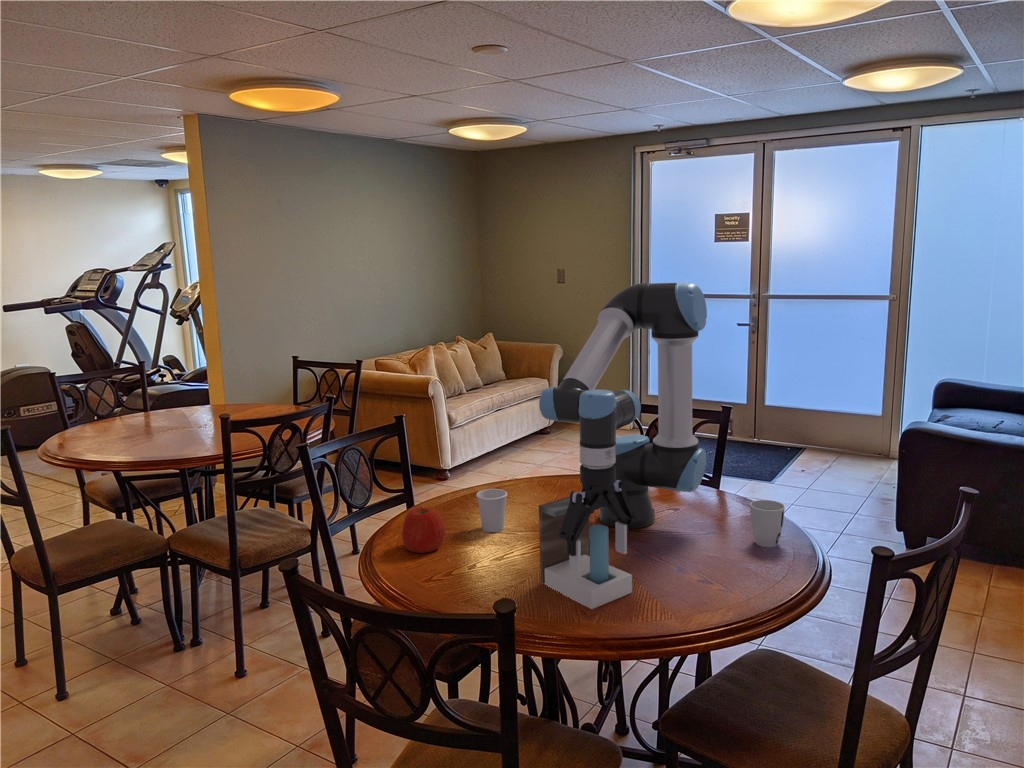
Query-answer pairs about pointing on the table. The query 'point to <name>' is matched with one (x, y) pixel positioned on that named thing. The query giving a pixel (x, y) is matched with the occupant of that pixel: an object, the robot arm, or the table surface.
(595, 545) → the peg
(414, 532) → the apple
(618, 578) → the socket
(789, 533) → the table surface
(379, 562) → the table surface
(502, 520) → the dixie cup
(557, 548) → the awning
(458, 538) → the table surface
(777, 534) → the cup
